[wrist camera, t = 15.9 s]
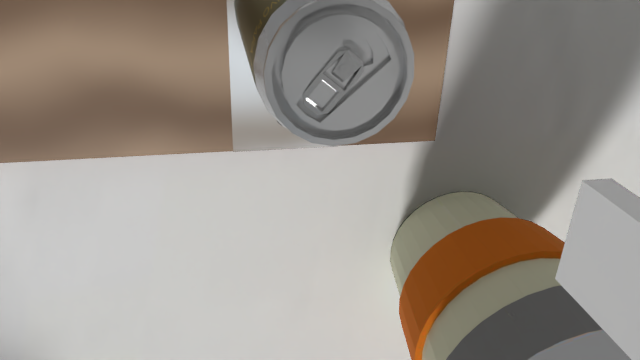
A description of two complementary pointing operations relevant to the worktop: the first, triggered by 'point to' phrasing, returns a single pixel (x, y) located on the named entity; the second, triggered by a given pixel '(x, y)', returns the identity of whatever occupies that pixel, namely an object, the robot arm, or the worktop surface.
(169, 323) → the worktop surface
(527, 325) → the reusable coffee cup
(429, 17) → the walnut board
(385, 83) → the beer can
